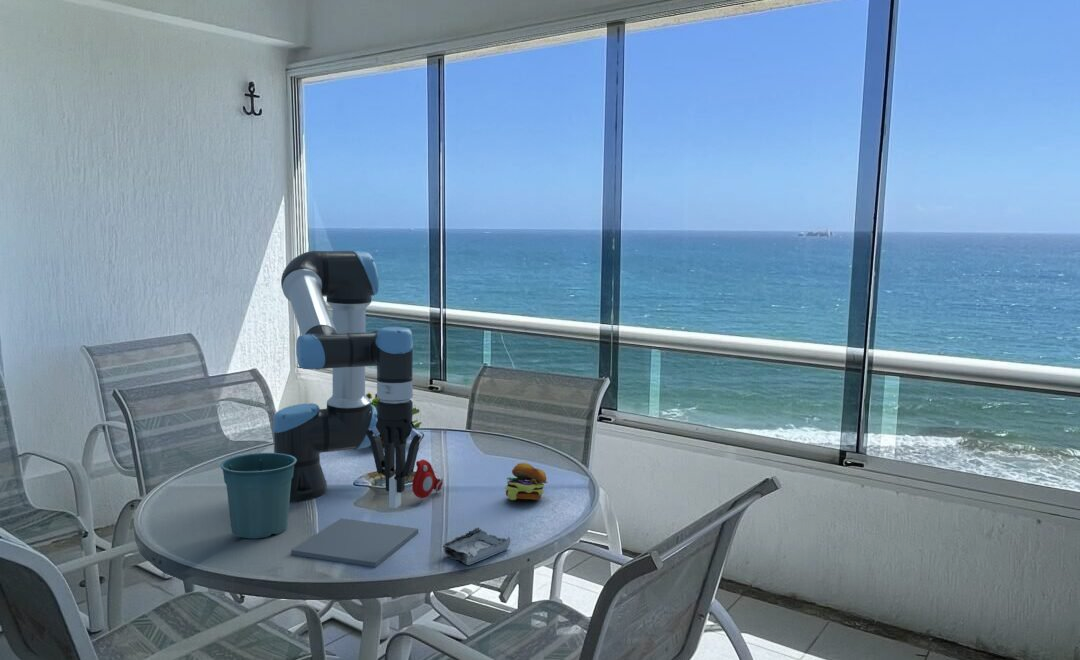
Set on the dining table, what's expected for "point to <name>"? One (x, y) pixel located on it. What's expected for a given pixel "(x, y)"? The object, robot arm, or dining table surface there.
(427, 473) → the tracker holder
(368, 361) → the robot arm
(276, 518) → the flower pot
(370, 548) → the mat
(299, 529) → the dining table surface
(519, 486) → the cheeseburger
